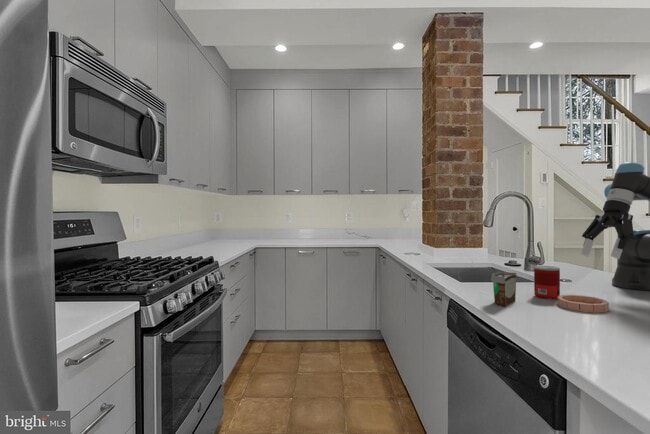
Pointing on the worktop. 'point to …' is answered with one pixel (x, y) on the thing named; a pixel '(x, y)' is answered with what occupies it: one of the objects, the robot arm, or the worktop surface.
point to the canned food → (547, 282)
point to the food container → (504, 288)
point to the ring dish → (583, 303)
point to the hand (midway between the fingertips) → (598, 256)
